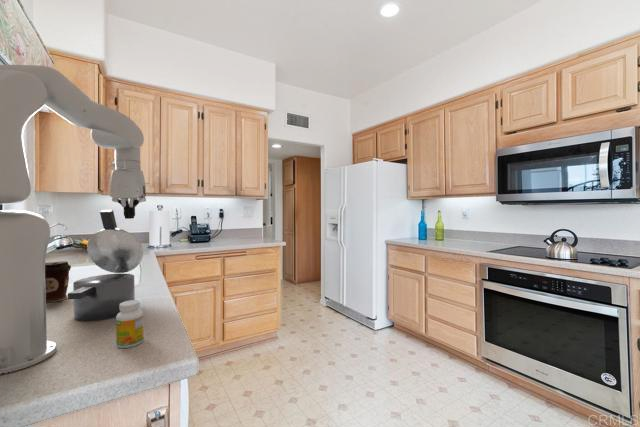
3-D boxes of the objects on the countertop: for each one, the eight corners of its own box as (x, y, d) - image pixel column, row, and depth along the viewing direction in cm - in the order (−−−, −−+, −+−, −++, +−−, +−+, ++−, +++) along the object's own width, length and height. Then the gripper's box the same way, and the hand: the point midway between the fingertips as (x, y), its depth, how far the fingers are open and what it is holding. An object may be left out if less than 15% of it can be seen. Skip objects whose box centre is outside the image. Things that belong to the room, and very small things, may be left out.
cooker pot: (106, 328, 77) (105, 291, 77) (43, 331, 75) (42, 293, 75) (145, 300, 100) (145, 271, 99) (97, 302, 98) (97, 273, 97)
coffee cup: (54, 304, 96) (53, 265, 96) (30, 304, 96) (28, 265, 96) (77, 296, 105) (76, 260, 104) (54, 296, 105) (53, 260, 105)
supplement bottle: (110, 347, 67) (109, 306, 67) (128, 337, 72) (128, 298, 72) (131, 349, 66) (130, 307, 66) (148, 338, 72) (148, 299, 71)
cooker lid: (93, 273, 96) (99, 268, 99) (145, 272, 98) (149, 267, 101) (76, 211, 88) (82, 208, 91) (133, 211, 90) (137, 208, 93)
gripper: (98, 164, 98) (100, 219, 99) (145, 165, 100) (147, 219, 101) (111, 167, 106) (112, 218, 106) (155, 168, 108) (156, 217, 108)
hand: (129, 218), depth 104 cm, fingers closed
